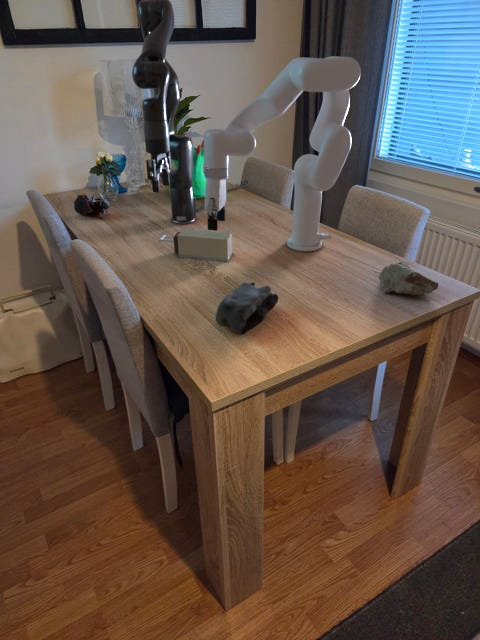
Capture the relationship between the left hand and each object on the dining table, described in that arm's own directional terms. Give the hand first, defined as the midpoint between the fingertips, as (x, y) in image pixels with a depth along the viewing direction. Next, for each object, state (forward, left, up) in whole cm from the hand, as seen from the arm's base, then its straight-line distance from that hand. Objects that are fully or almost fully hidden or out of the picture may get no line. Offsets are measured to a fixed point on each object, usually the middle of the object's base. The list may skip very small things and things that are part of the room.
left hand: (161, 188), depth 146 cm
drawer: (-4, +8, -21) cm, 23 cm away
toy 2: (-54, -44, -22) cm, 73 cm away
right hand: (-9, +16, -11) cm, 22 cm away
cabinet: (-7, +12, -22) cm, 26 cm away
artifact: (-28, +74, -22) cm, 83 cm away
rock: (+17, +51, -22) cm, 58 cm away
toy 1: (-4, -53, -22) cm, 57 cm away
